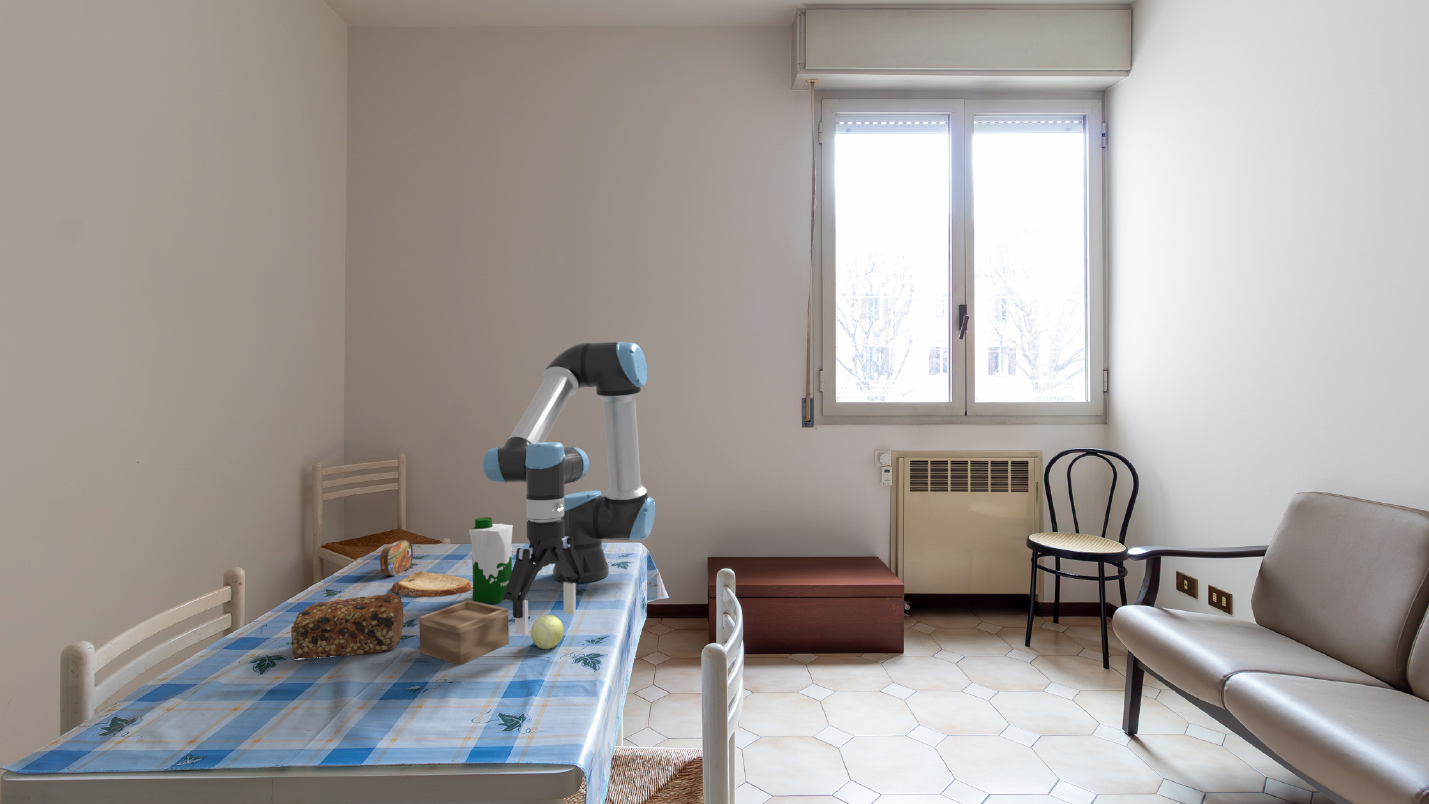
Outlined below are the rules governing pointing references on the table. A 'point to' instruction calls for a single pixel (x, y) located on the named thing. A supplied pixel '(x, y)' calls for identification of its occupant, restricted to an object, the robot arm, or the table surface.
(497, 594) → the milk carton
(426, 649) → the wooden box
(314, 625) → the bread
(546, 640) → the tennis ball
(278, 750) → the table surface
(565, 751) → the table surface
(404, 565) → the tin
